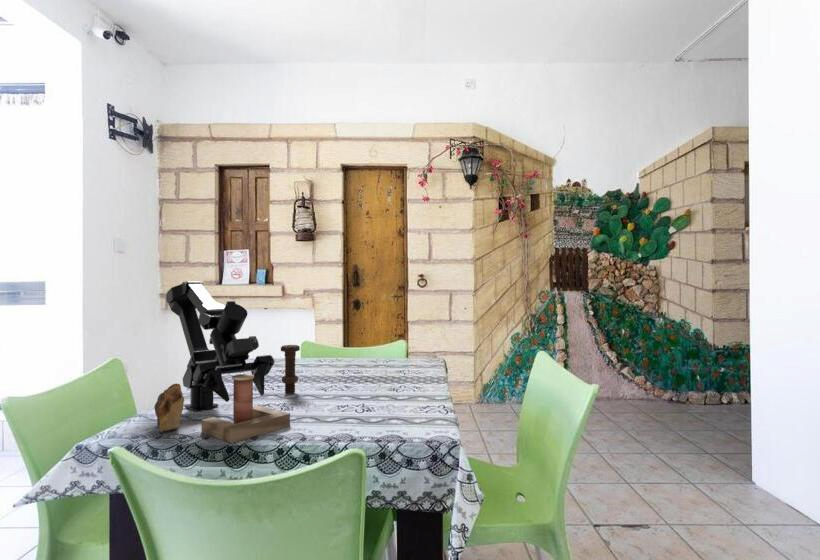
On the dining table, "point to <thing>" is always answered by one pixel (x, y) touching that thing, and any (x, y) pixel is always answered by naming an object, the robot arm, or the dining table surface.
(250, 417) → the bobbin
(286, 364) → the bolt
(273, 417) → the notch board
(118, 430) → the dining table surface
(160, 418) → the decorative rock
